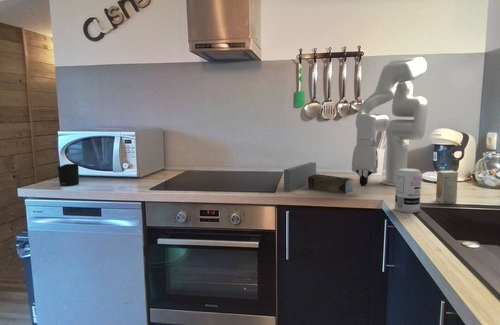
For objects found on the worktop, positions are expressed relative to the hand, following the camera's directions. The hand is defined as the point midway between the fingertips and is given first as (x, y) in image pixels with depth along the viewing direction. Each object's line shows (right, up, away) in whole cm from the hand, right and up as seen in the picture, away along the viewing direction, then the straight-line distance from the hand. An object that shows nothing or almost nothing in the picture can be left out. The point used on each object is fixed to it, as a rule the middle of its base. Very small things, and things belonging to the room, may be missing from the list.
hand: (363, 185), depth 156 cm
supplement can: (+8, -8, -25) cm, 27 cm away
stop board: (-25, -2, +18) cm, 31 cm away
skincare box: (+29, -6, -12) cm, 32 cm away
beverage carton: (-12, -3, +10) cm, 16 cm away
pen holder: (-141, -1, +27) cm, 143 cm away
